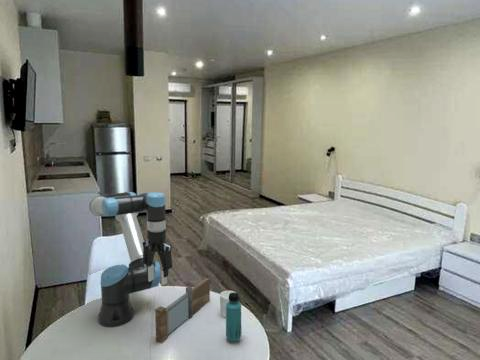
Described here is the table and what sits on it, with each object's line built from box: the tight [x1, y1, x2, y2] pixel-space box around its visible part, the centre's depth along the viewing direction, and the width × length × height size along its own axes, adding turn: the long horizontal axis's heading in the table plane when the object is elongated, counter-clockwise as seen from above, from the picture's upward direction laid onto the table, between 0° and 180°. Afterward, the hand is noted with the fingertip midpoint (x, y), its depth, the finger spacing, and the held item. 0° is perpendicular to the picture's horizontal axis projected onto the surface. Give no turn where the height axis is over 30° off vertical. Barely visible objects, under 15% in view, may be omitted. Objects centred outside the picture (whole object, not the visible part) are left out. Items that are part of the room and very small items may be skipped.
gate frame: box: [154, 277, 211, 344], centre depth 154 cm, size 3×38×14 cm, turn 154°
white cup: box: [219, 290, 237, 319], centre depth 159 cm, size 8×8×10 cm
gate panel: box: [165, 292, 189, 337], centre depth 147 cm, size 16×2×12 cm, turn 154°
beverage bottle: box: [225, 292, 242, 342], centre depth 139 cm, size 6×7×20 cm
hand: (157, 281), depth 146 cm, fingers open, 6 cm apart
